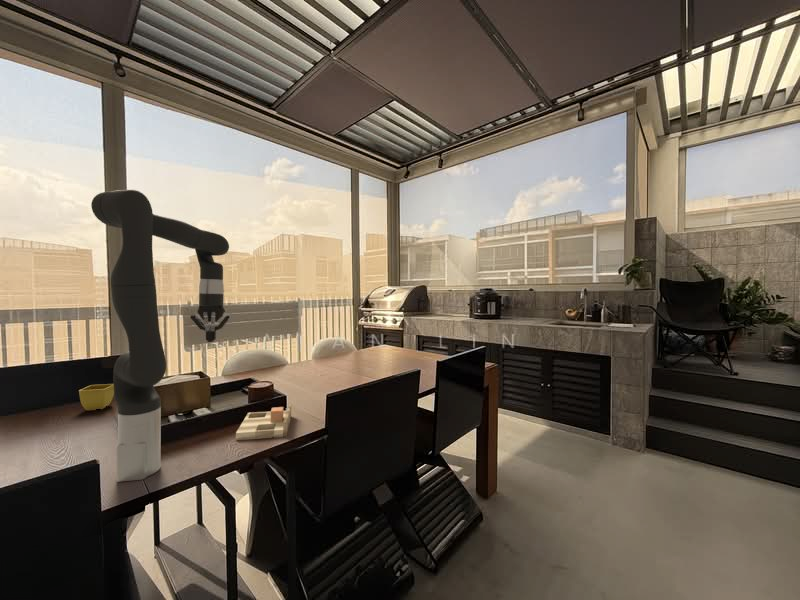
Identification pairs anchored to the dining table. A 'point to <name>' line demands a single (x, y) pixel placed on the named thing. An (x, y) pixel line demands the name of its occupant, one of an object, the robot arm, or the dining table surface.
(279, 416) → the block
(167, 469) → the dining table surface
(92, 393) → the flower pot
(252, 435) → the board
